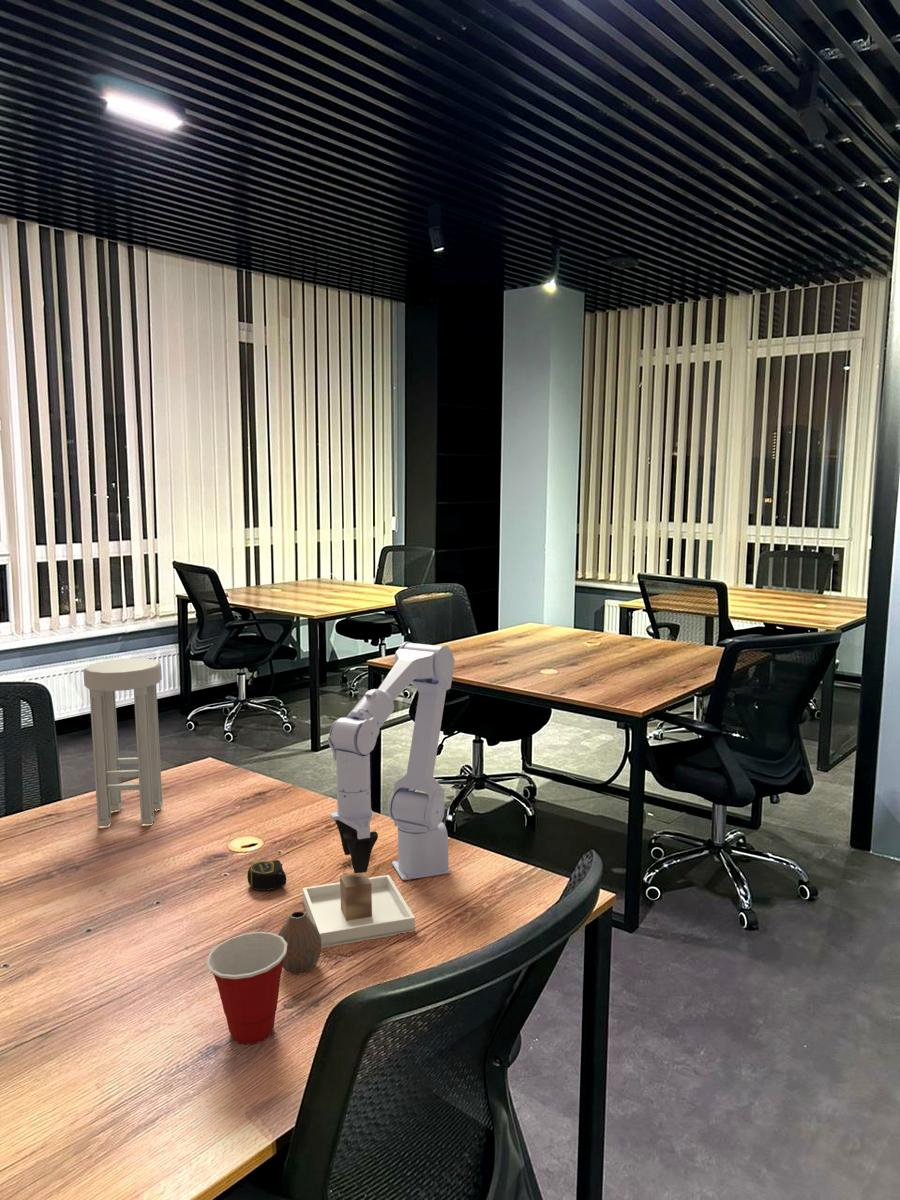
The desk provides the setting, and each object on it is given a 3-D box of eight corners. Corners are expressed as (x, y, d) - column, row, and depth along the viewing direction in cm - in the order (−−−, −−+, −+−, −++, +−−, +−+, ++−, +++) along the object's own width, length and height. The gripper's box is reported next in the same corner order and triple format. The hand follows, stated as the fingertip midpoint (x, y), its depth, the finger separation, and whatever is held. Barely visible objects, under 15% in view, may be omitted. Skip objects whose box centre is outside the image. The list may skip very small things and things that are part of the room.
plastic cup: (207, 1016, 125) (203, 937, 123) (284, 1002, 128) (282, 924, 126) (211, 1065, 114) (207, 978, 113) (295, 1048, 118) (292, 964, 116)
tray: (389, 887, 164) (388, 874, 163) (415, 931, 148) (414, 917, 147) (302, 901, 159) (302, 887, 158) (320, 948, 143) (319, 933, 142)
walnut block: (366, 904, 156) (365, 872, 155) (372, 916, 152) (371, 883, 151) (340, 908, 154) (340, 876, 154) (346, 920, 150) (345, 887, 149)
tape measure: (287, 891, 163) (286, 872, 162) (249, 896, 161) (248, 877, 160) (282, 875, 169) (282, 857, 169) (246, 880, 167) (245, 861, 167)
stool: (105, 806, 205) (96, 658, 200) (173, 803, 207) (166, 656, 202) (85, 832, 190) (75, 673, 185) (159, 829, 192) (150, 671, 187)
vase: (329, 959, 139) (328, 907, 138) (309, 983, 133) (307, 928, 132) (290, 952, 142) (289, 900, 140) (268, 975, 135) (266, 921, 134)
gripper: (322, 776, 156) (324, 849, 158) (339, 804, 143) (341, 884, 145) (361, 771, 159) (363, 843, 160) (381, 799, 145) (383, 877, 147)
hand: (355, 862), depth 153 cm, fingers open, 7 cm apart
